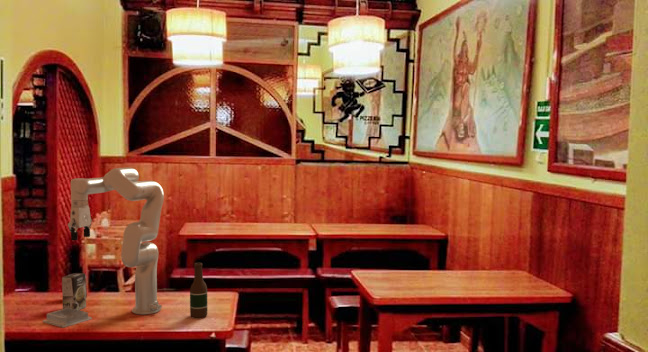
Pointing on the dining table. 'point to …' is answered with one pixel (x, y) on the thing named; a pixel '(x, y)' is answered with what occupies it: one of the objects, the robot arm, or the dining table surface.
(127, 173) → the robot arm
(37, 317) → the dining table surface
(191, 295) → the beer bottle
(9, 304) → the dining table surface
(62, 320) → the plate
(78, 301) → the coffee box
